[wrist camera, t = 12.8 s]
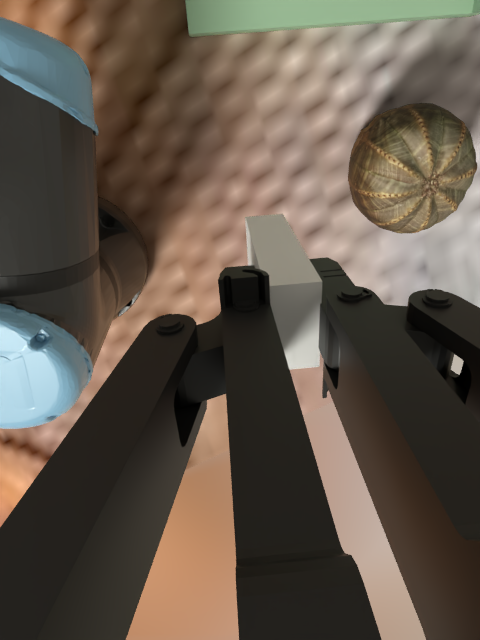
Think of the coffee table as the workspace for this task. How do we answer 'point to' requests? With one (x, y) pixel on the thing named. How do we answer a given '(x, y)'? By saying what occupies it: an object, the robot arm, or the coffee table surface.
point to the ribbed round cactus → (411, 167)
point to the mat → (313, 13)
